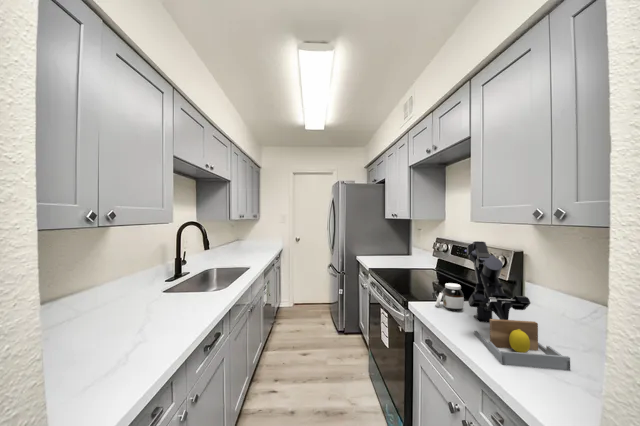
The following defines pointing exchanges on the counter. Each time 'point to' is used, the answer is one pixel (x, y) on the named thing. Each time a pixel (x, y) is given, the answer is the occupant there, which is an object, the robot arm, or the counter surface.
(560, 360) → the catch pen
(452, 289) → the spread jar
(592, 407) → the counter surface
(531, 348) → the board
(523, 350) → the lemon
